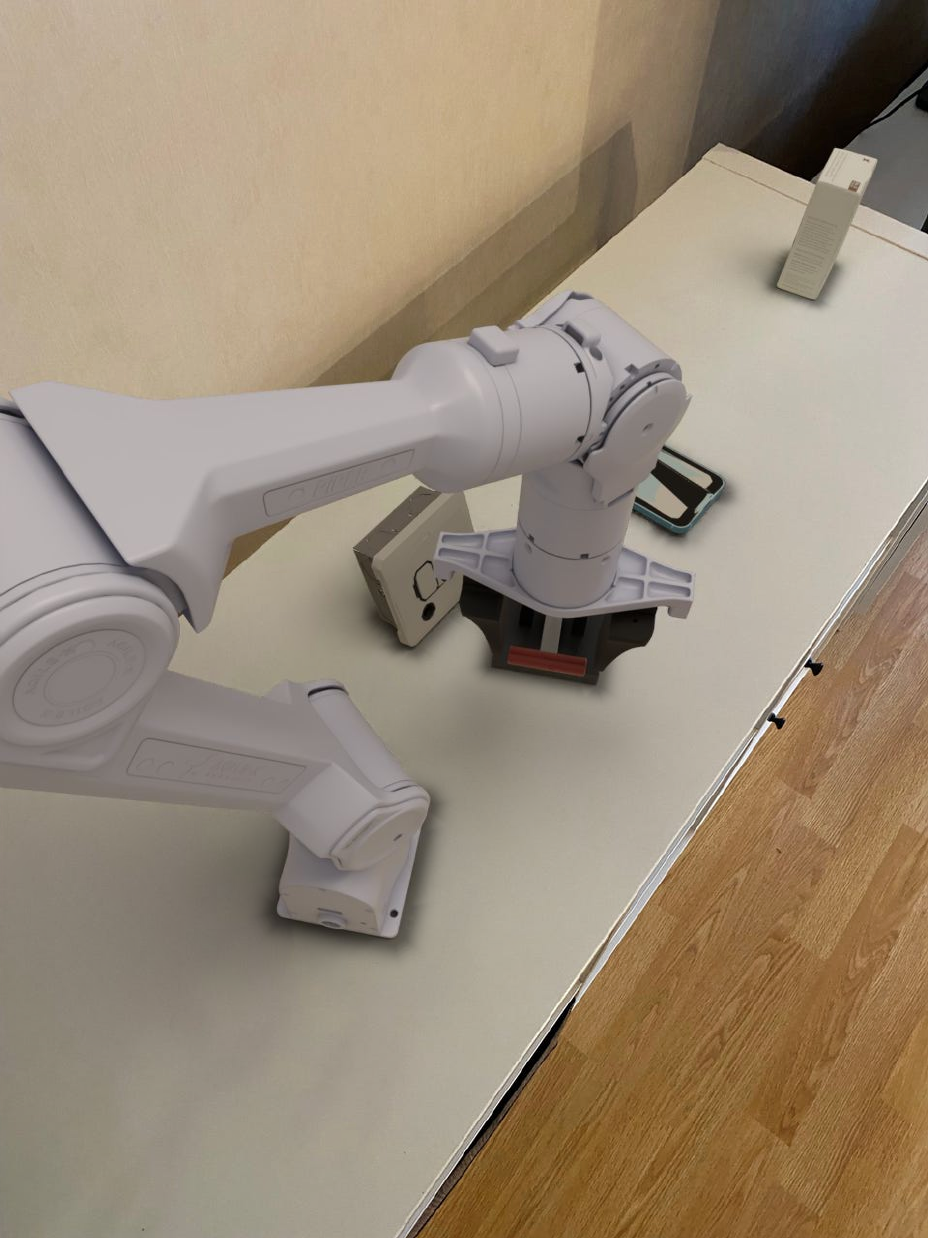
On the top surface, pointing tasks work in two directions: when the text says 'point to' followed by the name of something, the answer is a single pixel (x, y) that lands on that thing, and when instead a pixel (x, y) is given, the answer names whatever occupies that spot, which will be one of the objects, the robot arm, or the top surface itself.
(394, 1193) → the top surface
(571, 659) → the switch lever
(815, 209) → the cosmetic box
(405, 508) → the electrical switch
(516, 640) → the electrical switch base
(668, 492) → the smartphone
